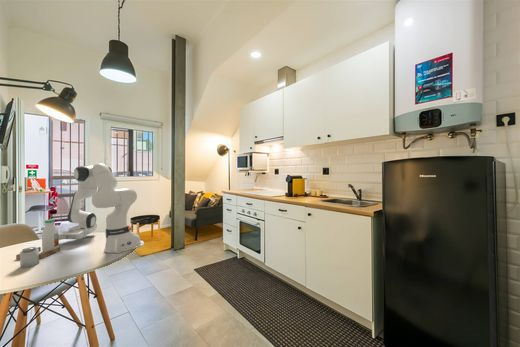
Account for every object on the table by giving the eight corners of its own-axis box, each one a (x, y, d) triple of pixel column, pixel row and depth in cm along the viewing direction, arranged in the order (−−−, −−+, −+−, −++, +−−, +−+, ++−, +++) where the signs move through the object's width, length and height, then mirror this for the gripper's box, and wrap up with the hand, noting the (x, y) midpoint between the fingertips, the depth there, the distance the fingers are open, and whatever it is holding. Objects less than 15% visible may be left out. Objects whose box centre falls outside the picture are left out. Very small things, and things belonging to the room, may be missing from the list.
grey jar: (40, 261, 122) (39, 245, 121) (37, 265, 116) (37, 248, 116) (22, 264, 117) (21, 248, 117) (18, 269, 112) (18, 252, 112)
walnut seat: (39, 250, 137) (39, 247, 137) (60, 250, 136) (59, 247, 136) (16, 259, 124) (16, 255, 124) (39, 259, 124) (39, 255, 124)
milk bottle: (49, 252, 133) (48, 221, 133) (38, 252, 134) (37, 221, 134) (62, 248, 141) (61, 218, 141) (51, 247, 142) (50, 218, 141)
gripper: (61, 228, 155) (41, 234, 141) (88, 228, 154) (70, 234, 141) (61, 237, 155) (41, 243, 142) (88, 237, 155) (70, 243, 141)
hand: (56, 239), depth 141 cm, fingers closed, pressing on milk bottle
